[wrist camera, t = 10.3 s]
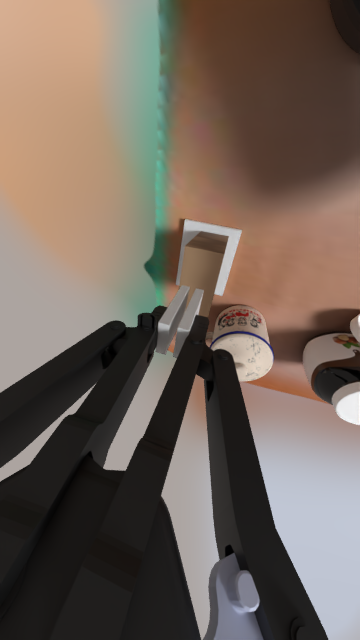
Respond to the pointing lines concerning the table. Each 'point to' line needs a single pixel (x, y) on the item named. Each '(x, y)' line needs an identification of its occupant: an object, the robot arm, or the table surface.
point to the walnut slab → (203, 266)
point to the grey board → (234, 234)
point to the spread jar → (336, 370)
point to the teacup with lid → (243, 341)
